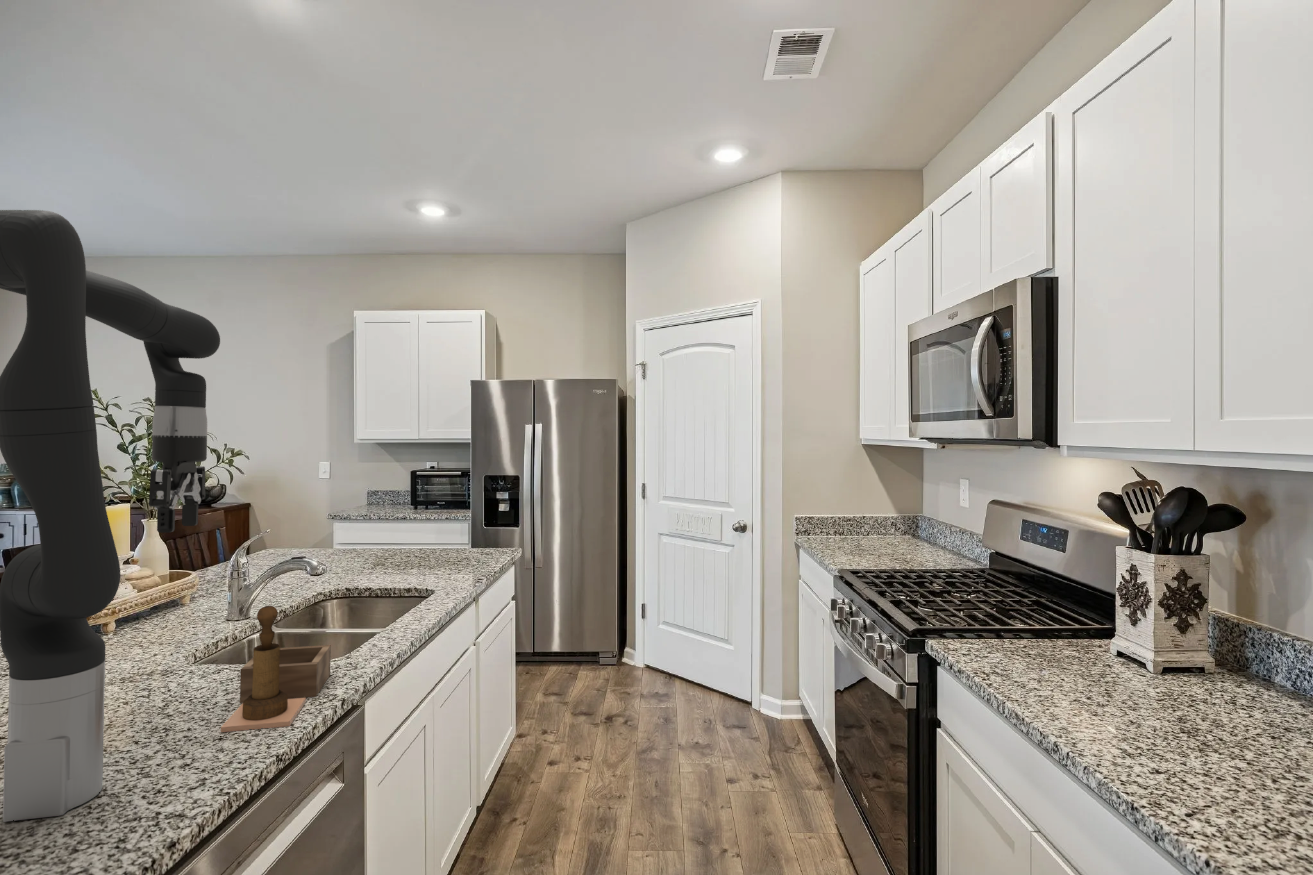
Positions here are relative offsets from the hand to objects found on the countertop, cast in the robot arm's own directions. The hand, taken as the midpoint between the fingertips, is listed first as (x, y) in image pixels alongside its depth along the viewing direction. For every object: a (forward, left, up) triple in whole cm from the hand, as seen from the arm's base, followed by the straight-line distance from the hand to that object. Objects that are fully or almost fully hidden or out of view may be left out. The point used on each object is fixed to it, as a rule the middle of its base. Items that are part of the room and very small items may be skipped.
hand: (178, 528), depth 110 cm
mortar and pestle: (-4, -15, -31) cm, 35 cm away
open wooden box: (+9, -15, -32) cm, 36 cm away
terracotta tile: (-4, -15, -32) cm, 35 cm away
